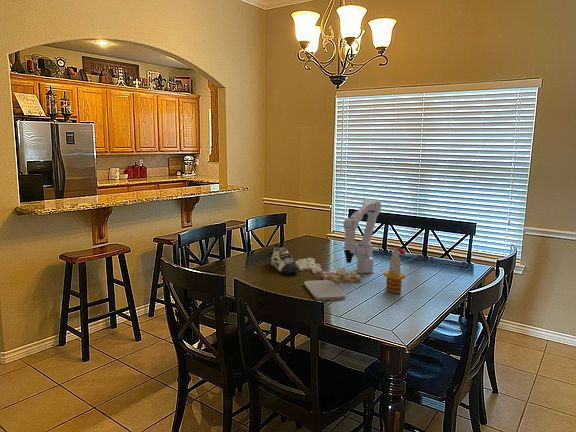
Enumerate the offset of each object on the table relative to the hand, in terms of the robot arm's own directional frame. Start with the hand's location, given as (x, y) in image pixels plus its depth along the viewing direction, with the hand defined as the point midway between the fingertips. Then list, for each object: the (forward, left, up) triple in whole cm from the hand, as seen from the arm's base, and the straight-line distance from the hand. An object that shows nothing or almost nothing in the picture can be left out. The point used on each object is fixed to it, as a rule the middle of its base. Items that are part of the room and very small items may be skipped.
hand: (348, 262), depth 252 cm
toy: (-18, +25, -9) cm, 32 cm away
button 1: (-1, +3, -8) cm, 9 cm away
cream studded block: (+5, +3, -6) cm, 8 cm away
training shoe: (+36, -17, -9) cm, 41 cm away
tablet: (+19, +24, -10) cm, 32 cm away
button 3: (+11, +3, -8) cm, 14 cm away
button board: (+5, +3, -9) cm, 11 cm away
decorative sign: (+20, -22, -10) cm, 31 cm away
